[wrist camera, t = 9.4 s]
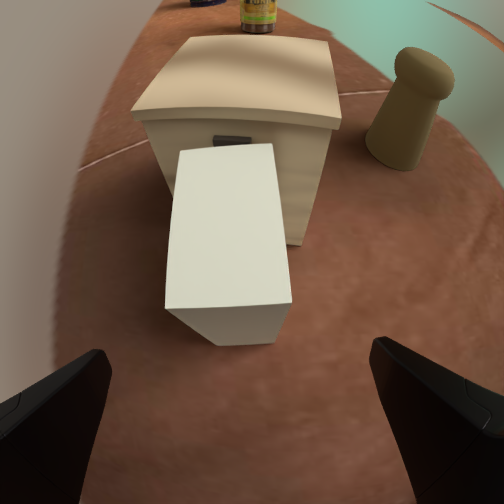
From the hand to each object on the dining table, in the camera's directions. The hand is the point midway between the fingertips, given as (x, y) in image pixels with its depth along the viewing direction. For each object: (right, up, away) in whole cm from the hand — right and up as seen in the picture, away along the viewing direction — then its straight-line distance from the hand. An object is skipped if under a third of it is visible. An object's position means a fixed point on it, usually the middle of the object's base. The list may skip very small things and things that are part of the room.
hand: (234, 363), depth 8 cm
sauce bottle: (+2, +42, +29) cm, 52 cm away
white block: (0, 0, +10) cm, 10 cm away
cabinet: (+1, +8, +13) cm, 15 cm away
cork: (+14, +13, +15) cm, 25 cm away
